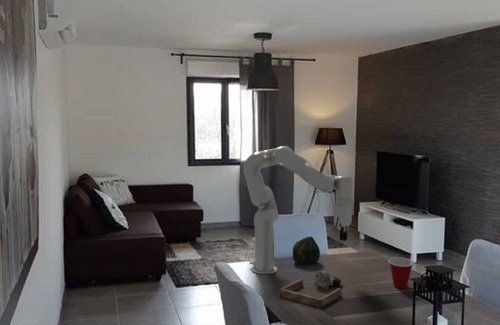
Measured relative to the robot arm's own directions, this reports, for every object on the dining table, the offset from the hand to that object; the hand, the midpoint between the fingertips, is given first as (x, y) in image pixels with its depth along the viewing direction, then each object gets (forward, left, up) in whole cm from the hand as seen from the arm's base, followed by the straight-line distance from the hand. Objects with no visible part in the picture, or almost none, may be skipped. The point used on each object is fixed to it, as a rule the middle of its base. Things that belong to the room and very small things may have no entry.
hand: (343, 240), depth 220 cm
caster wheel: (-1, -13, -19) cm, 23 cm away
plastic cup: (+26, +6, -19) cm, 33 cm away
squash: (-27, +11, -19) cm, 35 cm away
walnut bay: (0, -29, -19) cm, 34 cm away
